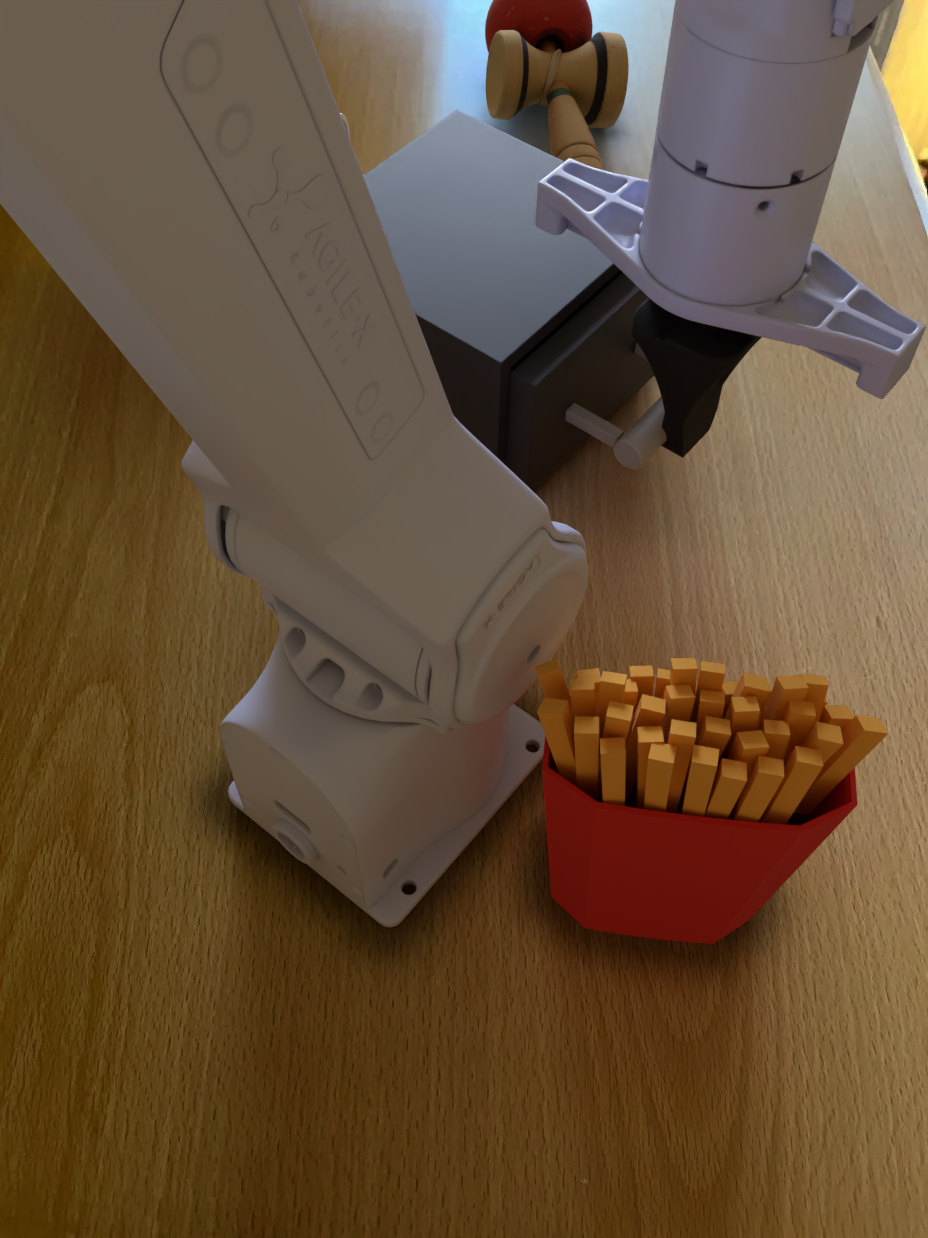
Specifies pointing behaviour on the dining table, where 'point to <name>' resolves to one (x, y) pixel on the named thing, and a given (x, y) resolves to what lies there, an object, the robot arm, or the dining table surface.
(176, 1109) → the dining table surface
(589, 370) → the drawer
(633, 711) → the french fries
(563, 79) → the kendama
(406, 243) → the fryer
